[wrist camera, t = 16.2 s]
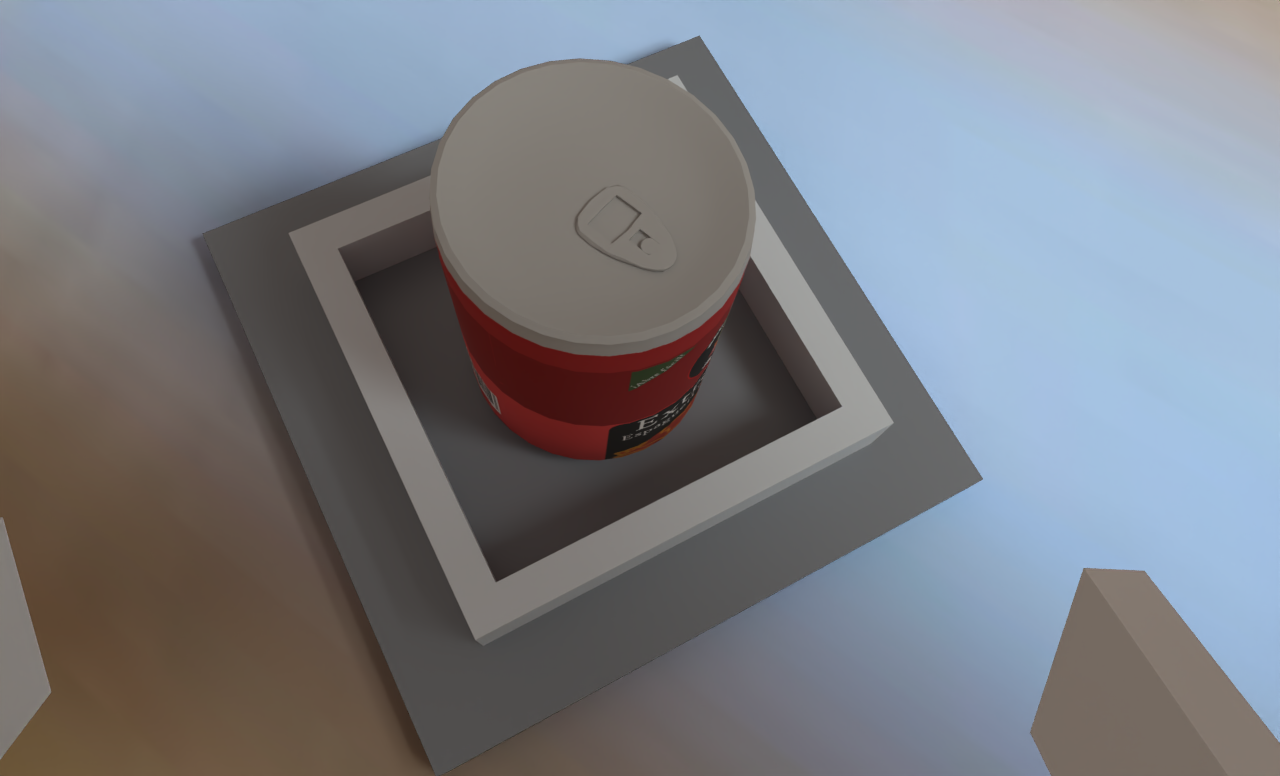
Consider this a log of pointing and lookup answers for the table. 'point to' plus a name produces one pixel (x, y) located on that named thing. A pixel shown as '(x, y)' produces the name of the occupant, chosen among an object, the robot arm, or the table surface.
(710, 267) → the canned food
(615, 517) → the end holder
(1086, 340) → the table surface
